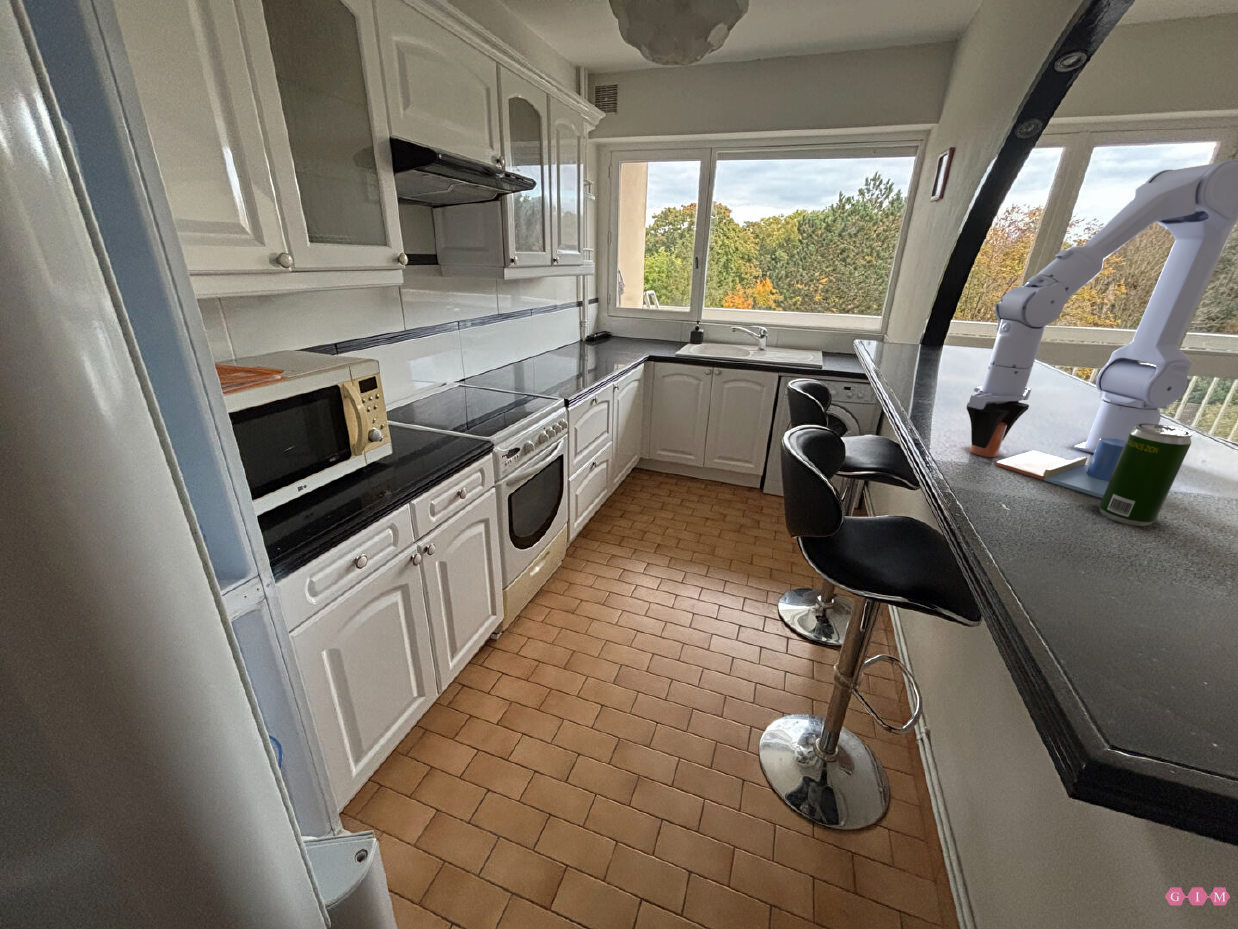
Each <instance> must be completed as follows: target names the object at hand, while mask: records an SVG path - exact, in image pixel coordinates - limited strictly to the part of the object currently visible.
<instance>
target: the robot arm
mask: <svg viewBox="0 0 1238 929" xmlns="http://www.w3.org/2000/svg"><path fill="white" fill-rule="evenodd" d="M1237 219H1238V159H1236V158H1235V159H1227V160H1224V161H1221V162H1214V163H1208V164H1203V165H1196V166H1189V167H1184V168H1177V169H1163V170H1161V171H1158V172H1156V173H1154V174H1153V175H1151V176H1150V177H1149V178H1148V179H1147V180H1146V181H1145V183H1143V184H1141V185H1140V186H1138V187H1137V188H1135V190H1134V192H1133V196H1132V200H1131V201H1130V202H1128V203H1127V204H1126V205H1125V206H1124V207H1123V208H1122V209H1121V210H1120V211H1119V212H1117V214H1116V215H1115V216H1113V217H1112V218H1111V219H1110V220H1109V221H1108V222H1107V223H1106V224H1105V225H1104V226H1103V227H1101V229H1099V230H1098V231H1097V233H1095V234H1094V235H1093V236H1092V237H1091V238H1090V239H1088V241H1087V242H1085V243H1084V244H1083V245H1075V246H1071V247H1068V248H1067V249H1061V250H1060V251H1059V252H1057V254H1055V259H1054V260H1052V261H1051V262H1049V264H1048V265H1046V266H1045V267H1044V268H1043V269H1041V270H1040V271H1039V272H1038V273H1037V274H1036V275H1032V276H1031V277H1030V278H1029V279H1028V280H1027V282H1026V283H1025V284H1024V286H1018V287H1016V286H1015V287H1013V288H1012V289H1010V290H1009V291H1008V292H1006V293H1005V294H1004V295H1003V296H1002V298H1001V299H1000V301H999V303H996V304H995V306H994V315H995V317H996V319H997V325H996V328H995V330H996V332H997V334H996V337H995V342H994V344H993V348H992V351H991V355H990V359H989V361H988V365H987V369H986V372H985V376H984V380H983V384H982V386H981V385H980V386H979V385H978V386H974V388H973V392H975V393H974V394H971V395H970V396H969V400H968V402H967V404H966V411H967V413H968V416H969V421H970V430H971V431H970V432H971V433H970V439H971V442H970V443H971V445H974V446H978V447H981V448H986V447H987V446H988V444H989V442H990V440H991V438H992V436H993V434H994V431H995V429H996V428H997V426H998V424H999V423H1000V422H1004V423H1006V424H1007V427H1006V430H1005V433H1004V437H1003V440H1002V442H1003V441H1004V440H1005V438H1006V437H1007V435H1008V434H1009V432H1010V430H1011V428H1012V427H1013V426H1014V424H1015V423H1016V422H1017V421H1018V420H1019V419H1020V417H1021V416H1023V415H1024V414H1025V413H1026V412H1027V411H1028V410H1029V407H1030V404H1028V403H1025V402H1021V401H1028V400H1029V399H1030V398H1029V397H1030V394H1031V392H1032V388H1029V387H1027V385H1028V382H1029V379H1030V376H1031V374H1032V373H1031V372H1032V370H1033V366H1034V363H1035V360H1036V358H1037V354H1038V350H1039V348H1040V345H1041V341H1042V339H1043V335H1044V332H1045V329H1046V326H1048V325H1050V324H1051V323H1053V322H1056V321H1057V320H1058V319H1059V317H1060V316H1061V314H1062V312H1063V310H1064V307H1065V306H1066V304H1067V303H1068V302H1069V300H1070V299H1071V297H1072V296H1074V294H1076V293H1077V292H1079V290H1081V289H1082V288H1084V287H1085V286H1086V285H1087V284H1089V283H1090V282H1091V281H1092V280H1093V279H1095V278H1096V277H1097V276H1098V275H1099V274H1100V273H1101V272H1102V271H1103V268H1104V261H1105V259H1107V258H1108V257H1110V256H1111V255H1112V254H1114V253H1115V252H1116V251H1118V250H1119V249H1121V248H1122V247H1123V246H1124V245H1126V244H1127V243H1129V242H1130V241H1131V240H1133V239H1134V238H1136V237H1137V236H1138V235H1140V234H1141V233H1142V232H1143V231H1145V230H1147V229H1148V228H1149V227H1151V226H1152V225H1153V224H1155V223H1156V224H1158V225H1159V226H1161V227H1162V228H1164V229H1165V230H1168V231H1169V232H1170V233H1171V235H1172V236H1173V238H1174V242H1173V245H1172V247H1171V250H1170V252H1169V254H1168V257H1167V259H1166V260H1165V263H1164V265H1163V268H1162V270H1161V273H1160V275H1159V277H1158V280H1157V283H1156V284H1155V287H1154V289H1153V291H1152V294H1151V296H1150V298H1149V301H1148V303H1147V306H1146V308H1145V310H1144V312H1143V315H1142V317H1141V319H1140V322H1139V324H1138V326H1137V329H1136V331H1135V334H1134V336H1133V338H1132V340H1131V342H1129V343H1128V344H1125V345H1123V346H1121V347H1119V348H1117V349H1116V350H1114V351H1112V353H1111V355H1110V358H1109V360H1108V361H1107V362H1106V363H1105V365H1104V366H1103V367H1102V368H1101V369H1100V371H1099V372H1098V374H1097V376H1096V380H1095V384H1096V389H1097V391H1098V392H1100V393H1099V396H1098V398H1101V399H1102V400H1101V401H1100V405H1099V408H1098V410H1097V412H1096V414H1095V418H1094V421H1093V423H1092V426H1091V429H1090V431H1089V434H1088V436H1087V439H1086V441H1085V442H1082V443H1079V444H1075V445H1074V446H1073V448H1074V449H1075V450H1079V451H1080V450H1081V451H1084V452H1088V453H1092V454H1094V452H1095V450H1096V447H1097V445H1098V442H1099V440H1100V439H1101V438H1111V439H1118V440H1123V441H1126V440H1127V438H1128V435H1129V433H1130V431H1131V430H1132V429H1134V428H1135V425H1136V424H1138V423H1149V424H1159V425H1160V422H1161V419H1162V417H1161V411H1160V410H1162V409H1163V410H1164V409H1167V407H1168V406H1170V405H1172V404H1173V403H1175V402H1176V401H1178V400H1179V399H1181V397H1182V395H1183V394H1184V393H1185V392H1186V389H1187V386H1188V374H1189V371H1190V368H1191V366H1192V364H1193V362H1192V360H1191V359H1190V358H1189V357H1188V356H1187V355H1186V354H1185V353H1184V352H1183V351H1182V350H1181V348H1180V347H1179V346H1180V344H1181V341H1182V339H1183V337H1184V334H1185V333H1186V331H1187V329H1188V326H1189V324H1190V322H1191V321H1192V317H1193V316H1194V314H1195V311H1196V309H1197V307H1198V305H1199V303H1200V300H1201V298H1202V296H1203V294H1204V292H1205V289H1206V287H1207V285H1208V283H1209V281H1210V279H1211V277H1212V275H1213V273H1214V270H1215V268H1216V265H1217V264H1218V262H1219V259H1220V257H1221V255H1222V253H1223V252H1224V251H1223V250H1224V249H1225V246H1226V244H1227V242H1228V240H1229V238H1230V235H1231V233H1232V232H1233V229H1234V226H1235V224H1236V221H1237ZM1143 362H1144V363H1143Z"/></svg>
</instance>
